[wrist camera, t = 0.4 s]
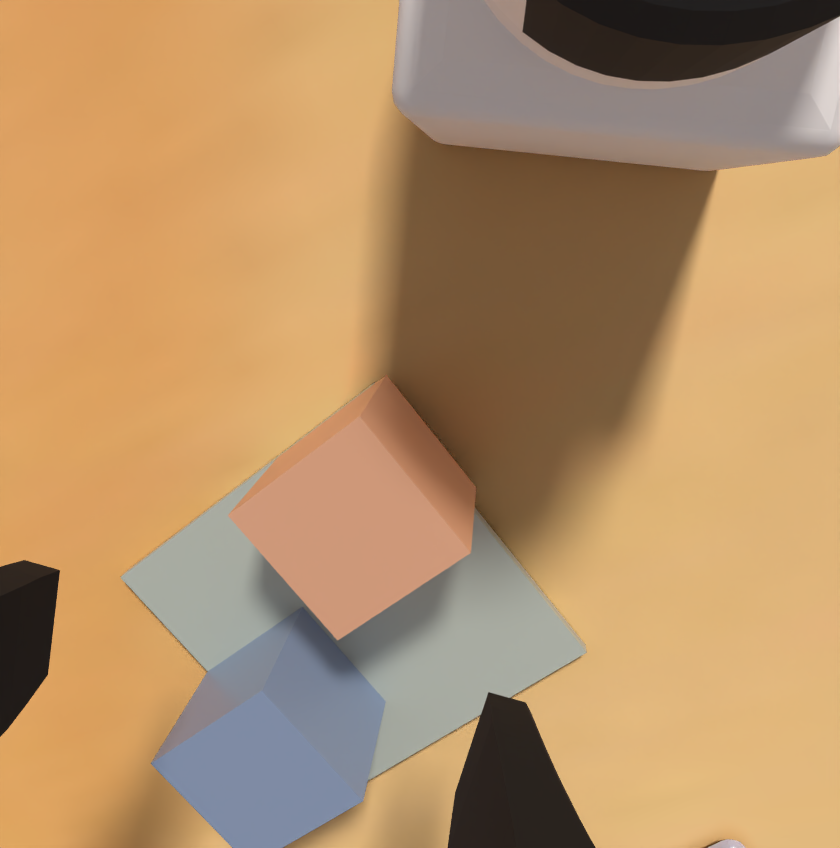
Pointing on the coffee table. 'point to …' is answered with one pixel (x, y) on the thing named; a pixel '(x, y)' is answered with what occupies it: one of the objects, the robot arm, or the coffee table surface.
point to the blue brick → (275, 737)
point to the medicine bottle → (625, 78)
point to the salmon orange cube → (361, 510)
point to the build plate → (370, 623)
